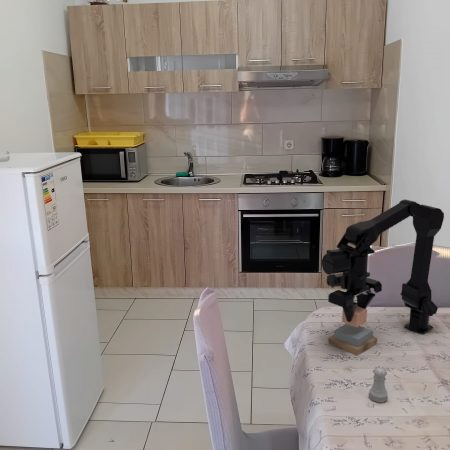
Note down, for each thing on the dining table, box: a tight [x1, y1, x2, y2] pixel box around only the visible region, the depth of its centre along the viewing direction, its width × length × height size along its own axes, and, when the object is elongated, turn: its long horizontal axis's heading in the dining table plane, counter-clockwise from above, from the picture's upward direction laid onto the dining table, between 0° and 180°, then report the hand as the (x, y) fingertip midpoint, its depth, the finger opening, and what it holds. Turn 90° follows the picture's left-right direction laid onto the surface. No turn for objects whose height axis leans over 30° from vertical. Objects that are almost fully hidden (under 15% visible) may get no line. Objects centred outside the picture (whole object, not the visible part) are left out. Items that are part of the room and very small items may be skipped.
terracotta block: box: [341, 306, 368, 327], centre depth 138 cm, size 5×5×4 cm
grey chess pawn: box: [368, 365, 389, 404], centre depth 114 cm, size 4×4×8 cm
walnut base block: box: [328, 334, 378, 357], centre depth 140 cm, size 10×10×2 cm
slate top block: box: [333, 323, 373, 347], centre depth 140 cm, size 8×8×2 cm
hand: (354, 318), depth 139 cm, fingers closed on terracotta block, 5 cm apart
